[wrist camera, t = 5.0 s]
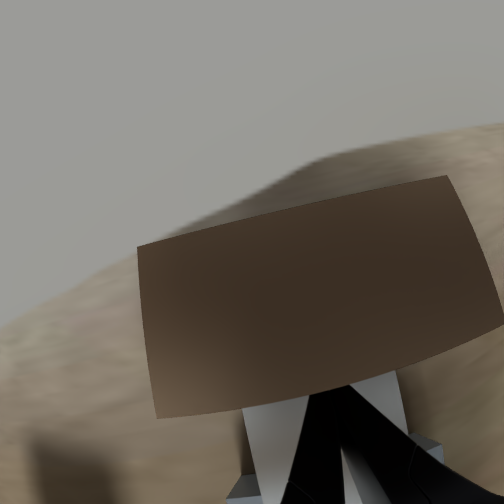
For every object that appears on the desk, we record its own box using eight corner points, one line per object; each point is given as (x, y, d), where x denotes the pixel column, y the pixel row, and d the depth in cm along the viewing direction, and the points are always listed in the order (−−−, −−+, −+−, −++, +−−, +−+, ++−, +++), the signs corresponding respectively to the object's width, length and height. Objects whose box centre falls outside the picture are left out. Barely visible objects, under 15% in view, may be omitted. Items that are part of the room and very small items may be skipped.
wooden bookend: (393, 485, 13) (511, 603, 1) (281, 513, 13) (244, 679, 1) (355, 311, 17) (454, 173, 5) (243, 338, 18) (127, 249, 6)
